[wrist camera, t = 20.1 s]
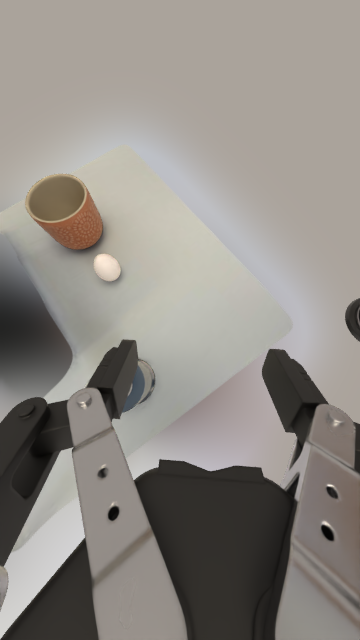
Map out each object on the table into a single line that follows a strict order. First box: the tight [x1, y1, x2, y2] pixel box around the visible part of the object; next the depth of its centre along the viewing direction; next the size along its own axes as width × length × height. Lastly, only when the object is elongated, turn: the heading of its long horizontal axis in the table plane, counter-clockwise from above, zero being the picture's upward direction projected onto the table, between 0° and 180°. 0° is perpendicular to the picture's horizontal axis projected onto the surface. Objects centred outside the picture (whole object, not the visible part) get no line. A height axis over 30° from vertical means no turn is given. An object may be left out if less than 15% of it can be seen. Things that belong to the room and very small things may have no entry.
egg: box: [94, 254, 121, 281], centre depth 41 cm, size 5×5×7 cm
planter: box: [25, 174, 103, 249], centre depth 43 cm, size 12×12×11 cm
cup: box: [122, 359, 155, 412], centre depth 34 cm, size 9×9×9 cm
